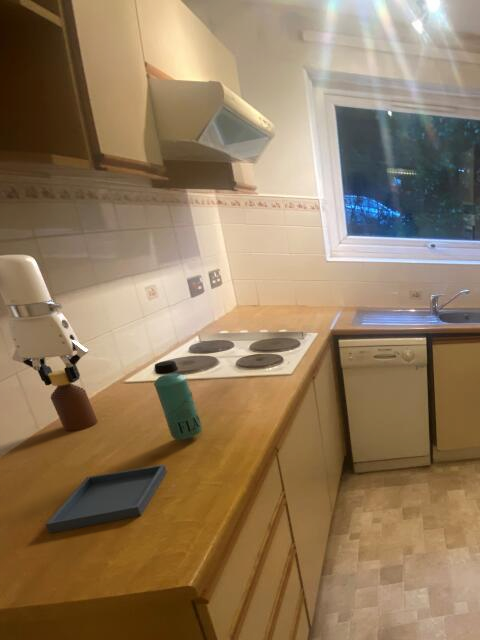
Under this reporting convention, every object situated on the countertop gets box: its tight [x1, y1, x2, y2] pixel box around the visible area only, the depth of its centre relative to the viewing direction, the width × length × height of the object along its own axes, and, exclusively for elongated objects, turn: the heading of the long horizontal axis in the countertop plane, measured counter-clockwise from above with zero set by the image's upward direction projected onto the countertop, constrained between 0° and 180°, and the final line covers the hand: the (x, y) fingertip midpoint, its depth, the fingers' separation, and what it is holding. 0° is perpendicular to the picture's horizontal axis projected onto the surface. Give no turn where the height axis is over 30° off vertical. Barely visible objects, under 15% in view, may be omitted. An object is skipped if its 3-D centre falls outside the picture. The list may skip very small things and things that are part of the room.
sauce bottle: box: [50, 383, 99, 432], centre depth 110 cm, size 6×6×14 cm
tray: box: [45, 464, 168, 534], centre depth 85 cm, size 13×15×2 cm
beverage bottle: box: [153, 360, 203, 440], centre depth 103 cm, size 6×7×20 cm
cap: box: [48, 369, 72, 387], centre depth 108 cm, size 4×4×3 cm
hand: (62, 381), depth 108 cm, fingers closed on cap, 4 cm apart
